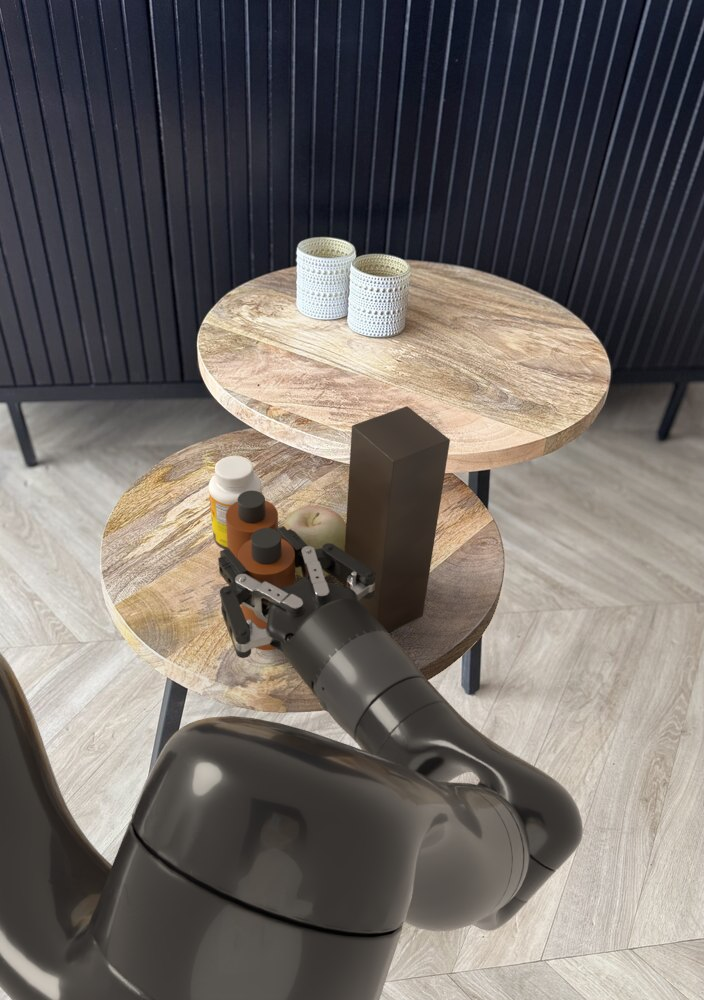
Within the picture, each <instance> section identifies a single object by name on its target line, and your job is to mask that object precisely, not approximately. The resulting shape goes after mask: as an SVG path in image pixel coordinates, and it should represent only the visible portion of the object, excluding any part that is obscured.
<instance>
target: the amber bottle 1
mask: <svg viewBox="0 0 704 1000" xmlns="http://www.w3.org/2000/svg"><path fill="white" fill-rule="evenodd" d="M226 527H227V542H228V548H229V549H230V551H231V552H232V553H233V554H234V555H235V557H236V558H237V559H238V553H239V550H240V548H241V547H242V546H243V545H244V544H245V543H246V542H247V541H249V540H251V536H252V534H253V533H254V532H255V531H256V530H258V529H261V528H272V529H275V530H276V529H277V528H279V513H278V509H277V507H276V506H275V505H274V504H272V503H271V502H270V501H267V500H266V496H265V494H263V492H262V493H260V492H258V491H246V492H243V493H241V494H240V495H239V497H238V502H236V503H234V504H233V505H231V506H230V507H229V509H228V510H227V512H226Z"/></svg>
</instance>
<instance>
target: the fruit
mask: <svg viewBox="0 0 704 1000" xmlns="http://www.w3.org/2000/svg"><path fill="white" fill-rule="evenodd" d="M282 526H284V527H285V528H286V529H287V530H289V529H291V530H293V531H295V532H296V533H297V535H298V536H299V537H300V538H301V539H302V540H303V541H304V542H305V543H306V544H307V545H308V546H311V547H313V548H314V549H319V548H322V547H323V545H324V544H326V543H332V544H334V545H335V546H337V547H338V548H340V549H341V550H343V551H344V552H345V535H346V520H345V519H344V518H343V517H342V516H341V515H340V514H339V513H338V512H336V511H334V510H332V509H329V508H327V507H324V506H321V505H314V504H313V505H304V506H301V507H299V508H297V509H295V510H294V511H292V512H291V513H290V514H289V515H288V516H287V517H286V519H285V520H284V522H283V524H282ZM322 570H323V569H322ZM323 573H324V577H325V578H326V577H329V576H331V575H330V574H328V573H327V572H326V571H324V570H323ZM295 575H297V576H299V577H301V578H303V575H302V571H301V566H300V567H298V568H296V567H295Z"/></svg>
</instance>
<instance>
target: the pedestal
mask: <svg viewBox="0 0 704 1000" xmlns="http://www.w3.org/2000/svg"><path fill="white" fill-rule="evenodd" d="M350 433H351V434H350V451H349V466H348V467H349V469H348V486H347V500H346V501H347V502H346V519H345V523H346V535H345V552H346V553H347V554H349V555H351V556H352V557H354V558H355V559H357V560H358V561H360V562H361V563H363V564H364V565H366V566H367V567H369V568H370V569H372V570H373V571H375V573H376V581H375V593H374V596H373V597H372V598H370V599H366V598H362V599H360V600H359V601H358V602H360V603H361V604H363V605H364V607H365V608H366V609H367V610H368V611H369V612H370V613H371V614H372V615H373V616H374V617H375V619H376V620H377V621H378V622H379V623H380V624H381V625H382V626H383V627H384V628H385V629H386V630H387V632H388V633H389V634H391V632H393V631H395V630H398V629H399V628H401V627H404V626H406V625H407V624H409V623H411V622H413V621H415V620H417V619H419V618H421V617H423V616H424V610H425V605H426V604H425V603H426V598H427V591H428V584H429V578H430V572H431V566H432V560H433V559H432V558H433V553H434V545H435V539H436V532H437V527H438V522H439V521H438V520H439V514H440V507H441V501H442V496H443V488H444V481H445V476H446V469H447V468H446V467H447V462H448V456H449V450H450V443H451V439H450V438H449V437H447V436H446V435H445V434H443V433H442V432H441V431H440V430H438V429H437V428H436V427H435V426H434V425H432V424H431V423H429V422H428V421H427V420H425V418H423V417H422V416H421V415H419V414H418V413H417V412H416V411H415V410H413V409H412V408H410V407H409V406H407V405H406V406H403V407H400V408H397V409H394V410H392V411H389V412H386V413H383V414H381V415H378V416H374V417H372V418H369V419H367V420H363V421H360V422H357V423H355V424H353V425H351V432H350ZM342 586H344V587H347V586H346V585H344V584H343V583H342Z"/></svg>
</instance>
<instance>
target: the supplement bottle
mask: <svg viewBox="0 0 704 1000" xmlns="http://www.w3.org/2000/svg"><path fill="white" fill-rule="evenodd" d="M254 471H255V470H254V464H253V462H252V461H251V460H250V459H248V458H247V457H245V456H242V455H241V456H240V455H229V456H225V457H223V458H221V459H219V460H218V461H217V462H216V464H215V465H214V475H213V476H212V477H211V478H210V480H209V483H208V496H209V497H208V498H209V507H210V515H211V516H210V517H211V518H210V519H211V528H212V538H213V541H214V544H215V545H216V547H217V548H218V549H219V550H220V551H222V550H224V549H227V548H228V542H227V527H226V512H227V510H228V509H229V507H230V506H231V505H233V504H234V503H236V502H238V497H239V495H240V494H241V493H243V492H246V491H258V492H260V493H262V494H263V483H262V480H261V478H260V476H259V475H258V474H257V473H255V472H254Z"/></svg>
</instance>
